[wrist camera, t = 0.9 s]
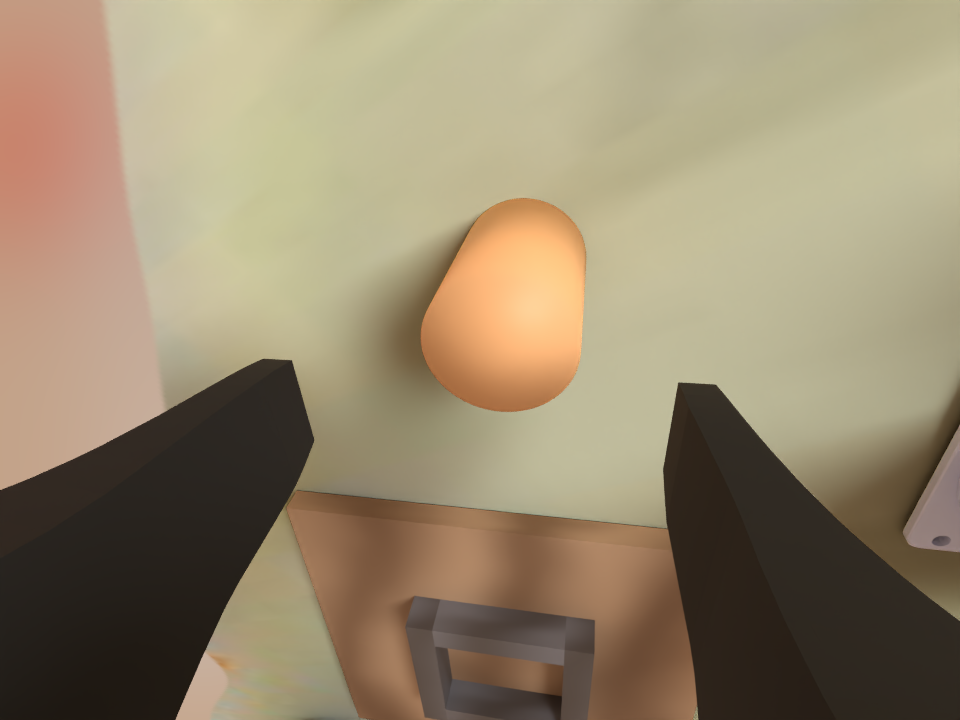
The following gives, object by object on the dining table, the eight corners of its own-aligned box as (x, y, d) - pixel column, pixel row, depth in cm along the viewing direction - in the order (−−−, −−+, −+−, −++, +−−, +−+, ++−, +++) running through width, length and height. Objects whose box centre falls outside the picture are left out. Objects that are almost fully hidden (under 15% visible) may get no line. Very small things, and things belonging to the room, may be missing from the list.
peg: (589, 198, 15) (585, 276, 11) (583, 314, 17) (577, 417, 13) (460, 198, 16) (411, 271, 12) (468, 310, 18) (429, 406, 14)
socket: (738, 536, 21) (752, 595, 19) (673, 752, 31) (678, 806, 29) (296, 490, 24) (268, 536, 22) (364, 699, 34) (349, 745, 32)
